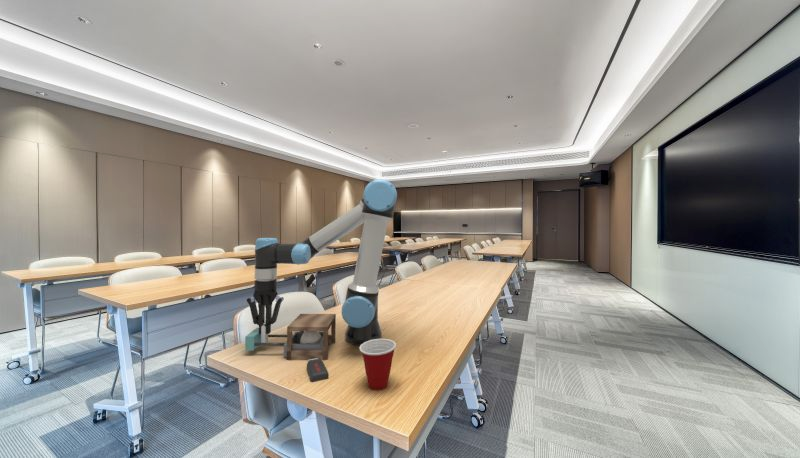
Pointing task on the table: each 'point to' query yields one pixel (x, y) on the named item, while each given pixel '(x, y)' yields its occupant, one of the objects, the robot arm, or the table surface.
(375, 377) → the plastic cup
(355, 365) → the table surface
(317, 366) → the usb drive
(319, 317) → the shelf
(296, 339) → the long-handled grey tray
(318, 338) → the geometric ball
